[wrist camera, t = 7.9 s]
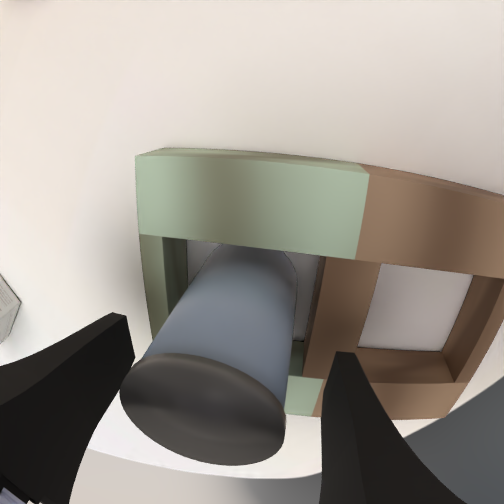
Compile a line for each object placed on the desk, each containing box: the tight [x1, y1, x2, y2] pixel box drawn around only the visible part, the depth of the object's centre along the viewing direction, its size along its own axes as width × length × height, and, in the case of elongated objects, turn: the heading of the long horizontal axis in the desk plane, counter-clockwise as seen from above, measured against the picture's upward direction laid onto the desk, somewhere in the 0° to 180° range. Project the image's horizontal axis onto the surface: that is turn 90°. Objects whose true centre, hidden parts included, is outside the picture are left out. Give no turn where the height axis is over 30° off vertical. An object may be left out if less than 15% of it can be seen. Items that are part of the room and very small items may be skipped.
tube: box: [119, 244, 297, 466], centre depth 11 cm, size 5×5×8 cm
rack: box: [135, 148, 504, 420], centre depth 13 cm, size 16×12×2 cm
